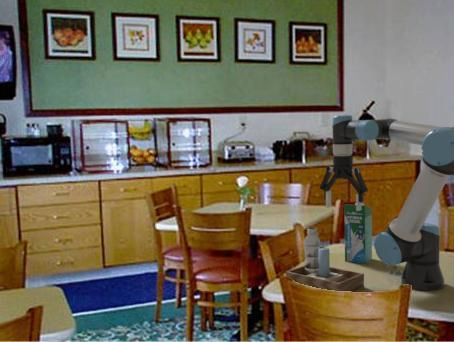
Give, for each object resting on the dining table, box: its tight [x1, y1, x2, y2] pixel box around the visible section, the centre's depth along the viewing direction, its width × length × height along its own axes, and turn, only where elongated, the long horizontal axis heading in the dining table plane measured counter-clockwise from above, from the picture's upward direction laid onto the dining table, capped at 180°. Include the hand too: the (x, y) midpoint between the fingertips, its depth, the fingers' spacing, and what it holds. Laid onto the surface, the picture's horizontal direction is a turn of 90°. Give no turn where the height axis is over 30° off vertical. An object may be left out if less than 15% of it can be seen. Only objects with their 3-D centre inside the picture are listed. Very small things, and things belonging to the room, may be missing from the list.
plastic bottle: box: [303, 227, 322, 275], centre depth 225 cm, size 6×7×20 cm
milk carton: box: [343, 202, 373, 264], centre depth 251 cm, size 9×9×25 cm
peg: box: [319, 247, 331, 278], centre depth 217 cm, size 4×4×13 cm
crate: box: [285, 264, 365, 292], centre depth 217 cm, size 24×16×5 cm, turn 45°
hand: (343, 208), depth 229 cm, fingers open, 13 cm apart
